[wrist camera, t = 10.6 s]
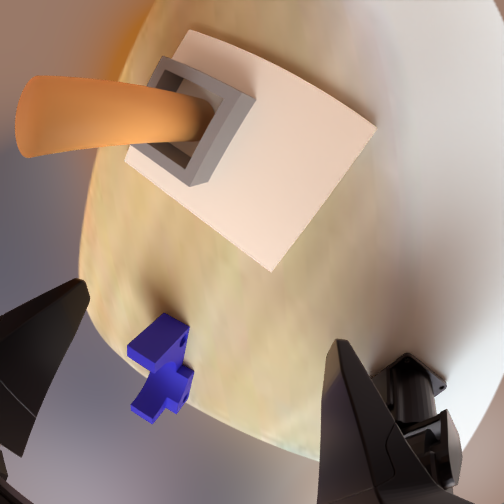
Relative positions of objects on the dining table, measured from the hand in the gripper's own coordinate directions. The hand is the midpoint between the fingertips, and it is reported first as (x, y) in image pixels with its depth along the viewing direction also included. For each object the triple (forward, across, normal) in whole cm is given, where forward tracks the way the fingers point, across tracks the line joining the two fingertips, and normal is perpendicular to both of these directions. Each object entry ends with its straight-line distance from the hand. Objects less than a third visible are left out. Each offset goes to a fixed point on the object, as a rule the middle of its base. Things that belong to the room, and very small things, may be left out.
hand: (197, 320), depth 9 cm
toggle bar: (+13, +5, -4) cm, 15 cm away
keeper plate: (+13, +2, -3) cm, 14 cm away
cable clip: (+11, +6, +20) cm, 23 cm away
